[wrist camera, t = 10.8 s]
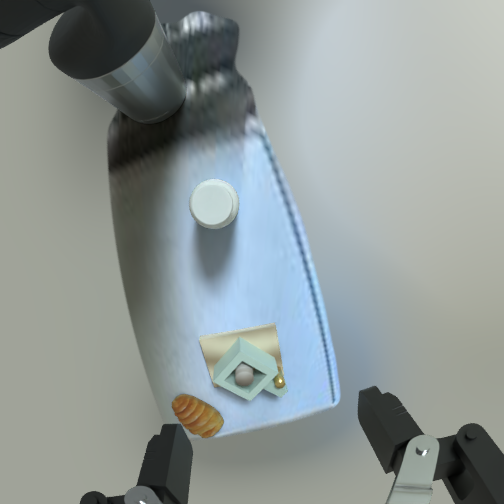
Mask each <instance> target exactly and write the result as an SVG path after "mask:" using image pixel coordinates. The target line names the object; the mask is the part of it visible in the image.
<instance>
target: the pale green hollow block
mask: <svg viewBox="0 0 504 504" xmlns="http://www.w3.org/2000/svg"><path fill="white" fill-rule="evenodd" d="M242 361H243V362H245V363H247V364H249V365H250V366H252V367H254V368H256V369H255V370H254V371H253V376H254V381H253V383H252V384H250V385H248V386H241V385H239V384H237V382H236V377H235V370H234V369H235V368H236V367H237V366H238V365H239V364H240V363H241V362H242ZM278 373H279V372H278V368H277V364H276V360H275V358H274V357H273V356H271V355H269V354H268V353H266V352H264V351H263V350H261V349H259V348H258V347H256V346H254V345H253V344H251V343H249V342H248V341H246V340H244V339H243V338H241V337H239V338H238V339H237V340H236V341H235V343H234V344H233V345H232V346H231V347H230V348H229V350H228V351H227V352H226V353H225V354H224V355H223V357H222V358H221V359H220V360H219V361H218V362H217V363H216V365H215V366H214V375H213V382H214V383H216V384H218V385H220V386H222V387H223V388H225V389H227V390H229V391H231V392H233V393H235V394H237V395H239V396H241V397H243V398H245V399H247V400H249V401H251V400H252V399H253V398H254V397H255V396H256V395H257V394H258V393H259V392H260V391H261V390H262V389H265V390H267V391H269V392H271V393H273V394H275V395H277V396H279V397H282V396H283V395H284V394H285V393H286V392H287V391H288V389H287V386H286V382H285V386H284V387H283V388H277V387H276V385H275V381H274V377H275V376H276V375H277V374H278ZM284 381H285V379H284Z"/></svg>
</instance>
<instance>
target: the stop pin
mask: <svg viewBox="0 0 504 504" xmlns="http://www.w3.org/2000/svg"><path fill="white" fill-rule="evenodd" d="M277 368H278V372H279V373H278V374H277V375H276V376H275V377H274V381H275V385H276V387H277V388H283V387H284V386H285V381H284V377H283V373H282V370H281V367H279V366H277Z"/></svg>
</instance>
